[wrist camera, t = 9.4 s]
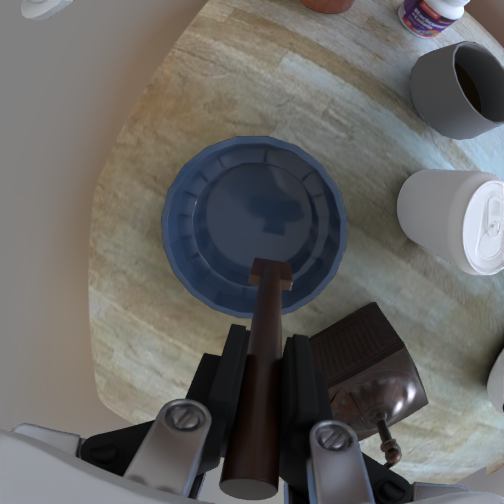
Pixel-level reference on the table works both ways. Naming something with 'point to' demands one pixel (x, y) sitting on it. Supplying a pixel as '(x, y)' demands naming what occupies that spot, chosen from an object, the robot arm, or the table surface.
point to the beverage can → (456, 217)
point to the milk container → (497, 383)
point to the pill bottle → (430, 15)
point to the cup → (459, 90)
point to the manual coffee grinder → (368, 376)
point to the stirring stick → (259, 393)
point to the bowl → (253, 222)
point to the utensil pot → (329, 5)
